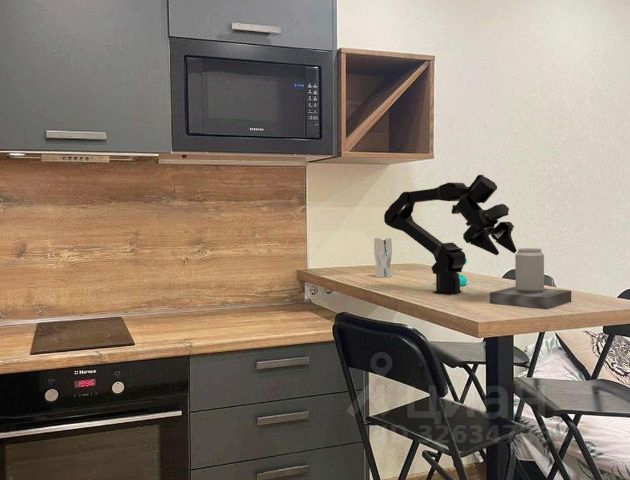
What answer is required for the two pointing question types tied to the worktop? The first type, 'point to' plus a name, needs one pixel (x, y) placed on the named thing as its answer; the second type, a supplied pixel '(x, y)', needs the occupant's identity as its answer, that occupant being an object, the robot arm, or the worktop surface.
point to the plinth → (531, 298)
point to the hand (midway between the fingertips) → (506, 253)
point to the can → (529, 270)
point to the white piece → (383, 256)
